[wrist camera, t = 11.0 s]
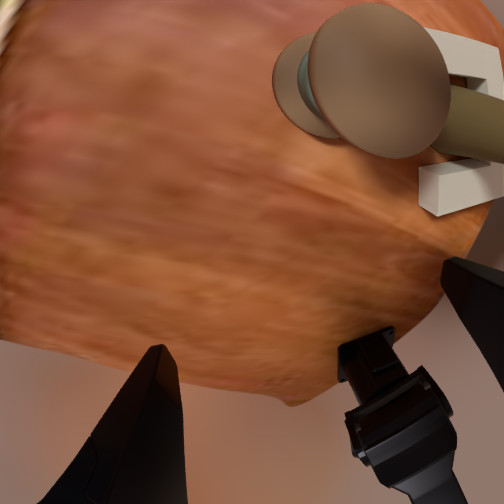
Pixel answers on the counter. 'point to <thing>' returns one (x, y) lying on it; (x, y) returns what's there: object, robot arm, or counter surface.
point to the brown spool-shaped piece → (366, 82)
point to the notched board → (471, 170)
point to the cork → (473, 126)
